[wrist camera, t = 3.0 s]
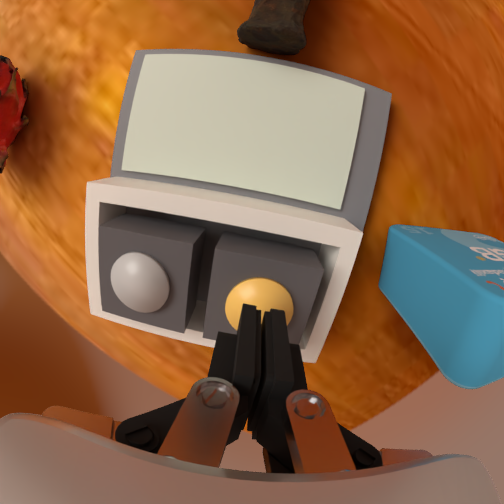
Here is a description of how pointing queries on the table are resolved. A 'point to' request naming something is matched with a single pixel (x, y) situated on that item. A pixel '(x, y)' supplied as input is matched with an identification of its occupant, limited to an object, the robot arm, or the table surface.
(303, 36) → the hand tool
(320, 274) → the tagged breaker
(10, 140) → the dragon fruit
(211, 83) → the board
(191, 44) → the table surface
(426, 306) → the data package
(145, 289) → the grey square block
